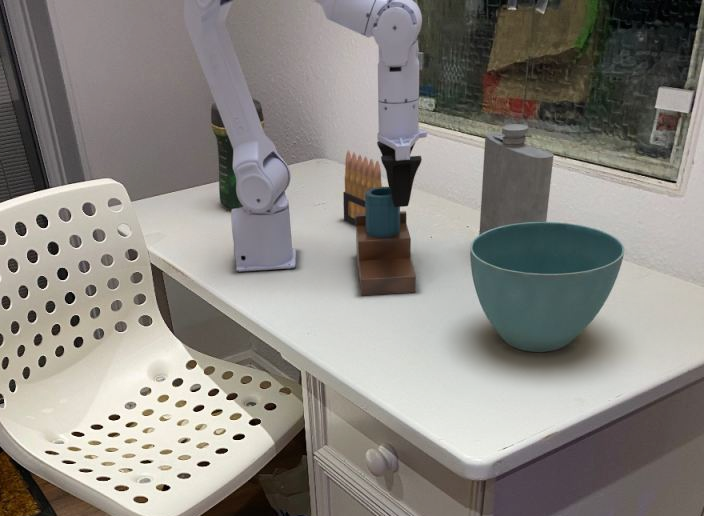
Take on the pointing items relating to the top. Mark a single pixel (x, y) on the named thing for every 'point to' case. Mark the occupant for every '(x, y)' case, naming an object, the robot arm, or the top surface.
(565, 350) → the top surface
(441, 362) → the top surface
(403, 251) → the step shelf
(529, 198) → the hip flask
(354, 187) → the ammunition clip
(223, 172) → the coffee jar
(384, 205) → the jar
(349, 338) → the top surface
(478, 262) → the teal bowl
